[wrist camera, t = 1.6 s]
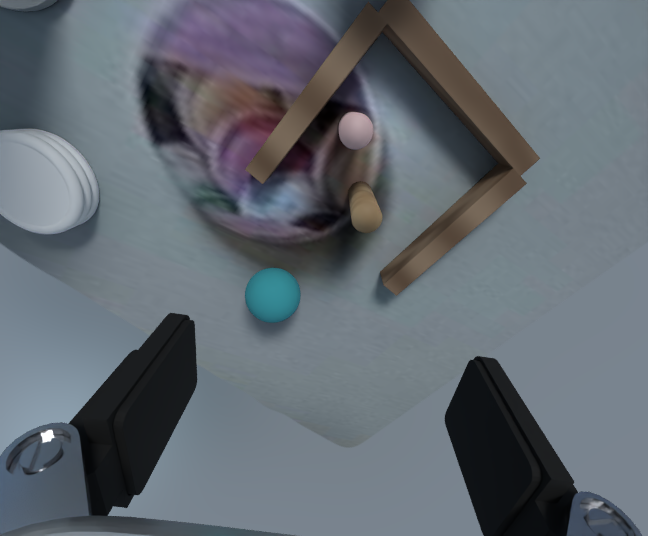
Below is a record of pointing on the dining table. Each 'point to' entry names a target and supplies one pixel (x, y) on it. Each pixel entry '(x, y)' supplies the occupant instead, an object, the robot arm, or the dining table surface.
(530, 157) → the pin alley
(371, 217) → the pin
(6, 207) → the white stack of plates
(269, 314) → the ball
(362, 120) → the side pin
